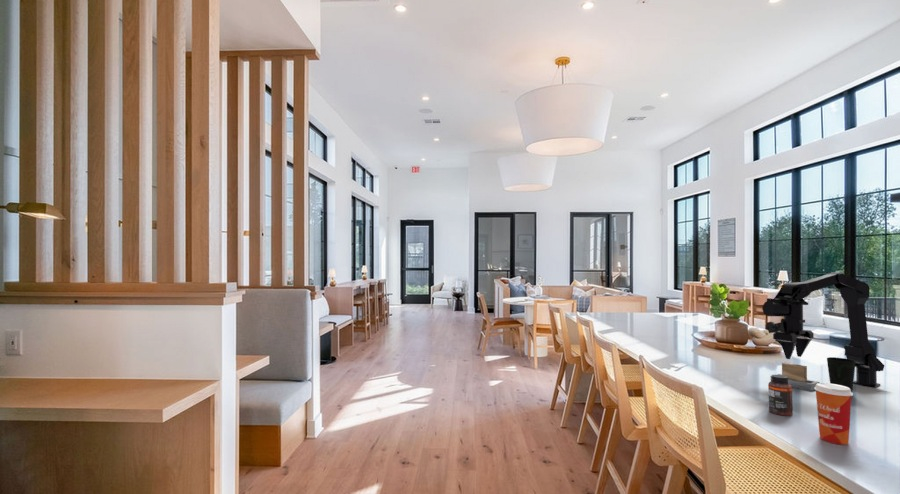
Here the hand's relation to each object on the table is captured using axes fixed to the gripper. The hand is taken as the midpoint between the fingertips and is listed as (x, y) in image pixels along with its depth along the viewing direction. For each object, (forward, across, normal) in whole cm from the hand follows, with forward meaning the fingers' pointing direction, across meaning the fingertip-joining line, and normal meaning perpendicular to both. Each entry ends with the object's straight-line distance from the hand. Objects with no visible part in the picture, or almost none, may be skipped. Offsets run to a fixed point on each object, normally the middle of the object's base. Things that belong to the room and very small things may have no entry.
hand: (793, 357), depth 166 cm
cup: (+10, -3, +13) cm, 17 cm away
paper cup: (+11, +52, +29) cm, 61 cm away
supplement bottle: (+11, +40, +12) cm, 43 cm away
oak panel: (+10, 0, 0) cm, 10 cm away
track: (+10, 0, 0) cm, 10 cm away
